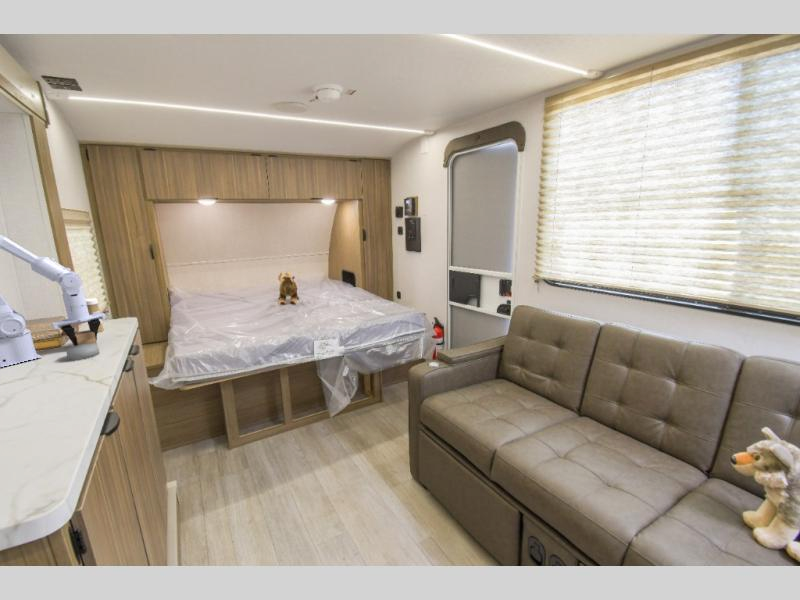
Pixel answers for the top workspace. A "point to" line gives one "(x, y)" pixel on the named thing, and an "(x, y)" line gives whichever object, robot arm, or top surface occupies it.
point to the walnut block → (85, 337)
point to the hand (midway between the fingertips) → (85, 342)
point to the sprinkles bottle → (94, 310)
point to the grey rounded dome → (82, 351)
